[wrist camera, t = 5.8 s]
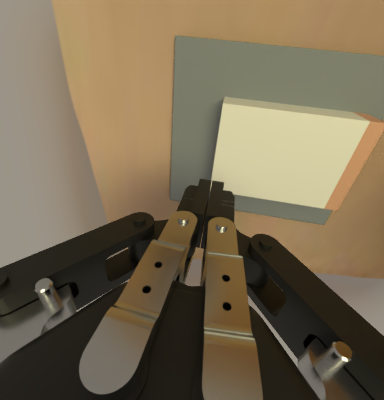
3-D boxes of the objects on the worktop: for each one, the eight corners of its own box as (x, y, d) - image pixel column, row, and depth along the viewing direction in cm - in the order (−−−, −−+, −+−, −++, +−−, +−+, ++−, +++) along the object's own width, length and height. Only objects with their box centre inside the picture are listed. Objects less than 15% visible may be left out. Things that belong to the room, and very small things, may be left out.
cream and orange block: (224, 96, 20) (367, 113, 18) (212, 176, 24) (326, 193, 23) (222, 103, 17) (387, 123, 16) (209, 190, 22) (337, 210, 21)
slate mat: (412, 58, 16) (416, 59, 16) (322, 222, 26) (323, 225, 25) (176, 35, 18) (175, 35, 18) (171, 197, 27) (169, 199, 27)
